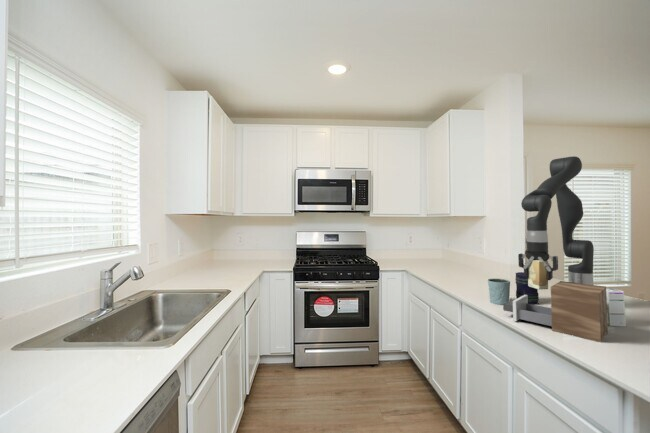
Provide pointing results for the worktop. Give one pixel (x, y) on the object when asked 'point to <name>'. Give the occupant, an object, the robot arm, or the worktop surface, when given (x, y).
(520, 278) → the storage jar
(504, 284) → the teal planter pot
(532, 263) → the skincare box
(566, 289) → the wood grain block
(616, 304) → the syrup box
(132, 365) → the worktop surface
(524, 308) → the drawer
